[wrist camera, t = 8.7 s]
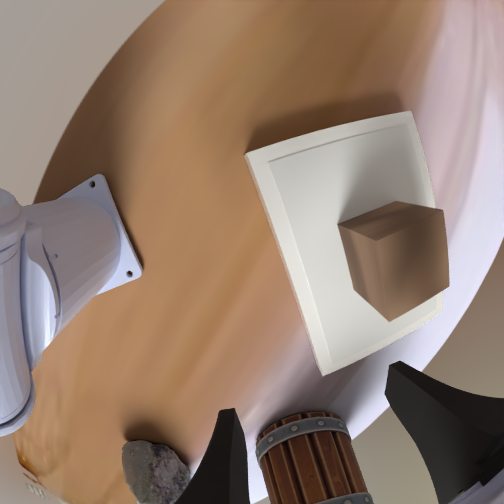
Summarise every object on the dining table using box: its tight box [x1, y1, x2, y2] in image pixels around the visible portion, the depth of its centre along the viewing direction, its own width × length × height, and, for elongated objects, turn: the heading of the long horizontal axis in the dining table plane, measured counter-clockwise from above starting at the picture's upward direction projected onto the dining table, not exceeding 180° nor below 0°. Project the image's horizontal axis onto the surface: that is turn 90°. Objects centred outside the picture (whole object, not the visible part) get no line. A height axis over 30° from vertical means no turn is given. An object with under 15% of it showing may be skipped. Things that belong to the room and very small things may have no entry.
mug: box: [255, 411, 374, 504], centre depth 19 cm, size 16×11×15 cm
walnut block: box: [337, 201, 449, 322], centre depth 15 cm, size 5×5×5 cm
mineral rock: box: [122, 440, 191, 504], centre depth 20 cm, size 13×11×10 cm
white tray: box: [244, 111, 443, 376], centre depth 19 cm, size 13×18×2 cm
